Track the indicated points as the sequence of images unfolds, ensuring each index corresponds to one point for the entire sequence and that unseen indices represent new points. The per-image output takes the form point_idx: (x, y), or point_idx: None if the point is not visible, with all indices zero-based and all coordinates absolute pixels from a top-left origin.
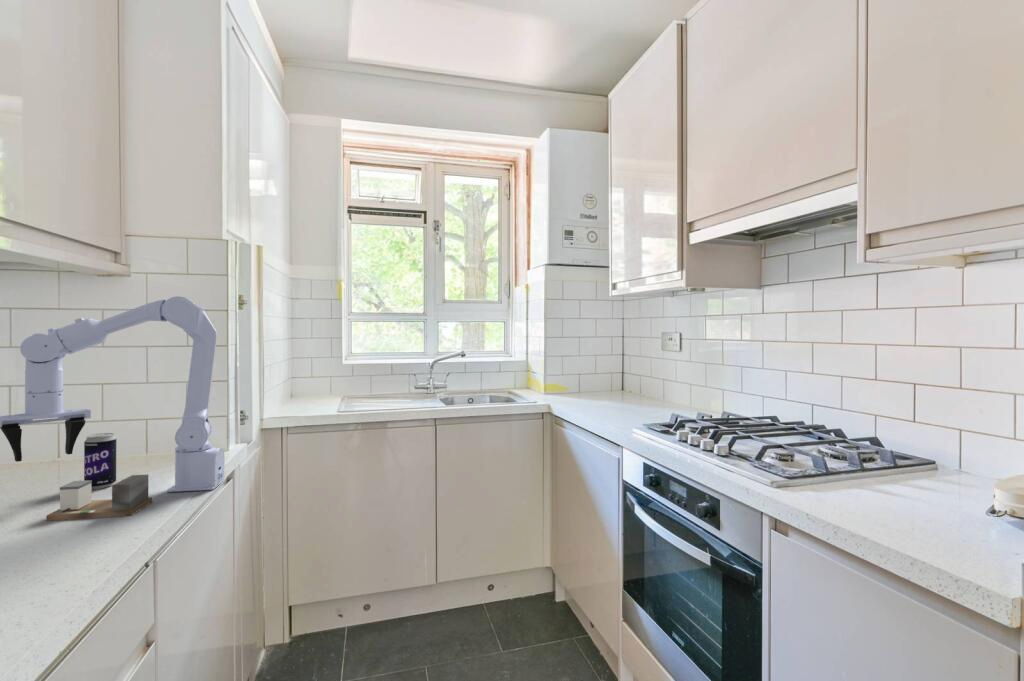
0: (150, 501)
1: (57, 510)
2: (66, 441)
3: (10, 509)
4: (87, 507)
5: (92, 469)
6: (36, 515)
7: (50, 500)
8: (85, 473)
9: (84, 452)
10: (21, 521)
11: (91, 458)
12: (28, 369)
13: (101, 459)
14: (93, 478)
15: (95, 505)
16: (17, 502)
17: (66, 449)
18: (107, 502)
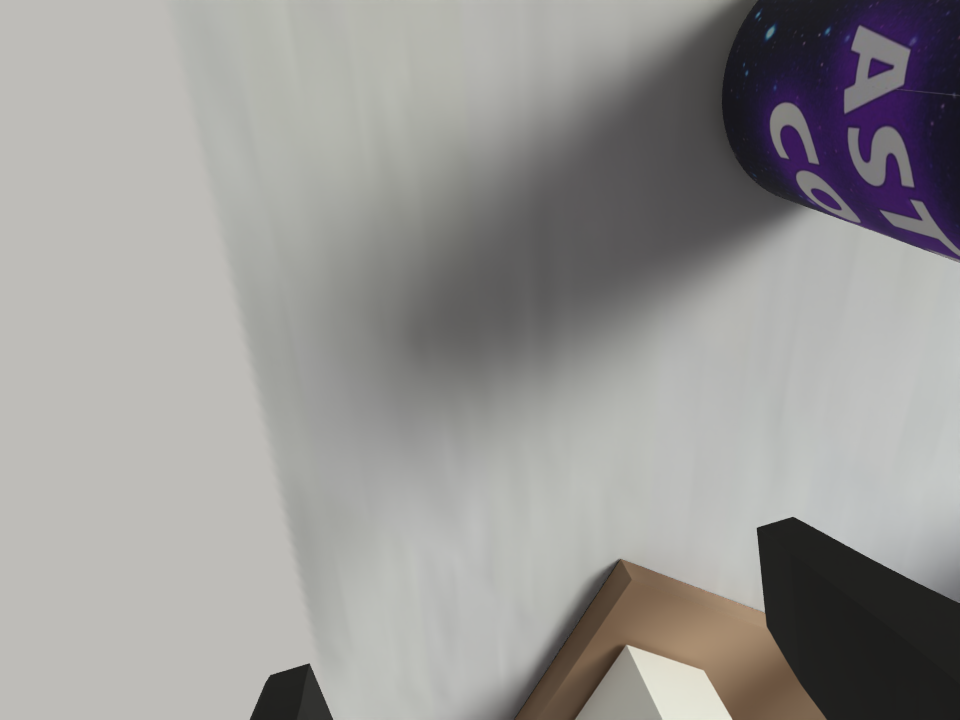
0: None
1: (547, 713)
2: (864, 643)
3: (273, 414)
4: None
5: (859, 225)
6: (442, 631)
7: (490, 318)
8: (789, 148)
9: (949, 149)
10: (385, 700)
11: (939, 248)
12: None
13: None
14: (811, 206)
15: None
16: (277, 227)
17: (790, 604)
18: (769, 688)
